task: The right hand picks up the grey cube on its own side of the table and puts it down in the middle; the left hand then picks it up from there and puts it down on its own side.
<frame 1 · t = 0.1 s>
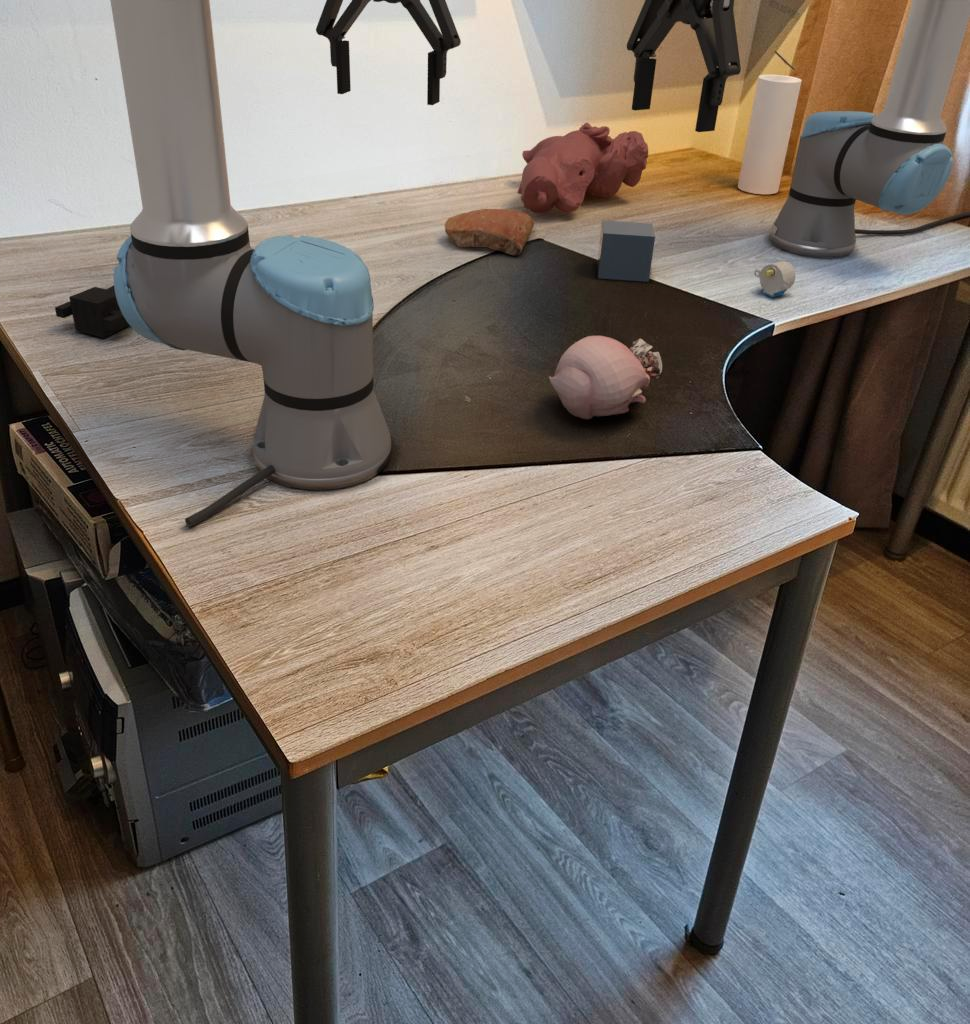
left hand: (388, 98, 135), 28 cm above the table, tool pointing down, fingers open, 13 cm apart
right hand: (671, 120, 131), 28 cm above the table, tool pointing down, fingers open, 13 cm apart
toy 2: (598, 409, 120), on the table
ceramic shard: (487, 240, 171), on the table
reddish clay animal figure: (573, 204, 192), on the table
electric motor: (770, 295, 155), on the table
tall white tube: (754, 189, 207), on the table
grey cube: (622, 273, 161), on the table
toy: (159, 301, 142), on the table
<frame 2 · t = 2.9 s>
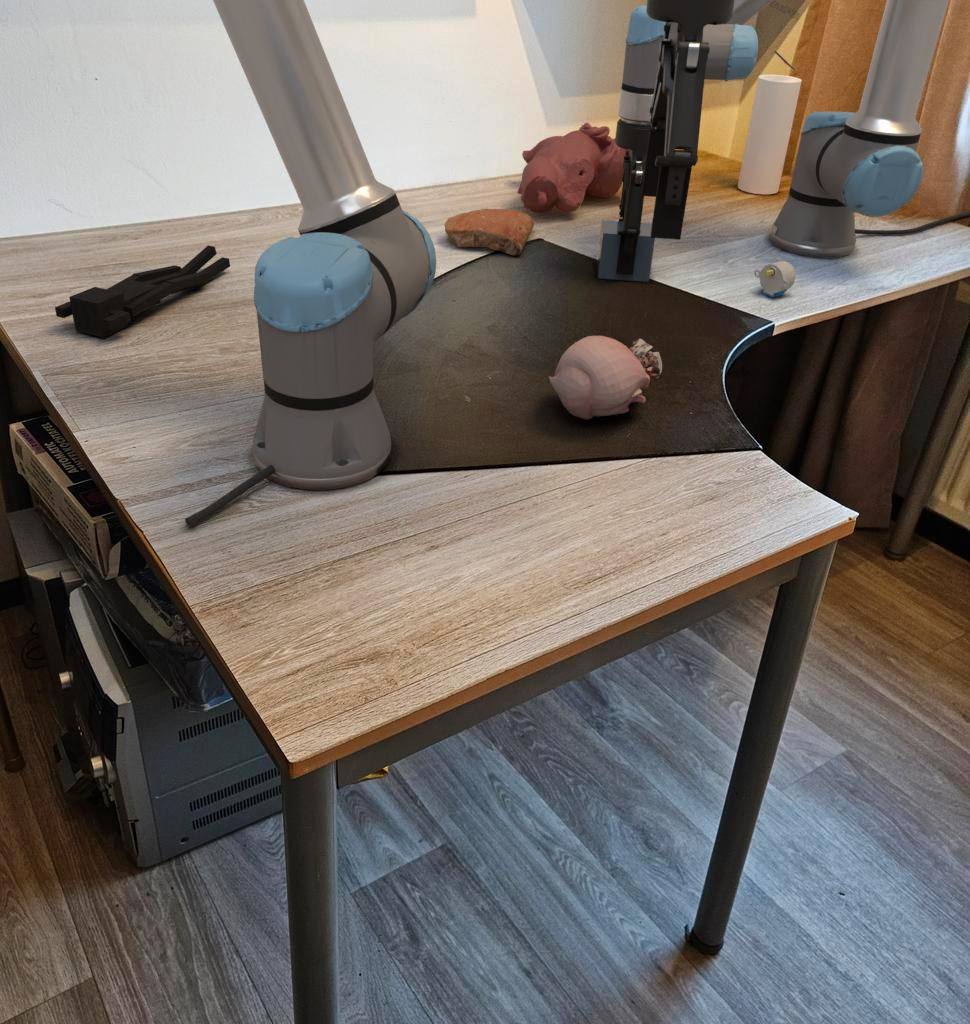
left hand: (659, 215, 95), 28 cm above the table, tool pointing down, fingers open, 13 cm apart
right hand: (623, 265, 160), 1 cm above the table, tool pointing down, fingers closed on grey cube, 7 cm apart
grey cube: (622, 273, 161), on the table, touching right hand
everything else where it was.
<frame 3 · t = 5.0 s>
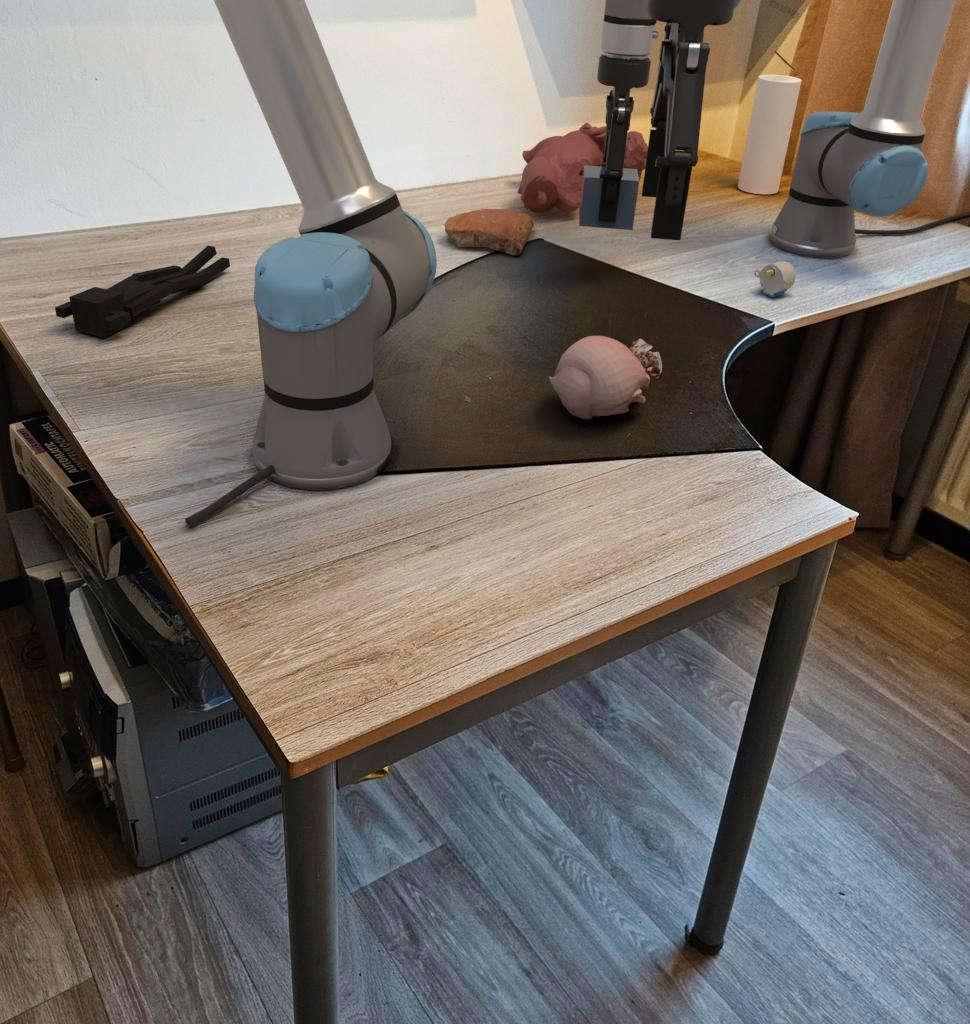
left hand: (659, 216, 95), 28 cm above the table, tool pointing down, fingers open, 13 cm apart
right hand: (606, 213, 152), 11 cm above the table, tool pointing down, fingers closed on grey cube, 7 cm apart
grey cube: (605, 221, 153), point 9 cm above the table, touching right hand
everything else where it was.
when the right hand's fingers open (3 cm above the table, at t = 7.6 s): grey cube drops 2 cm, on the table.
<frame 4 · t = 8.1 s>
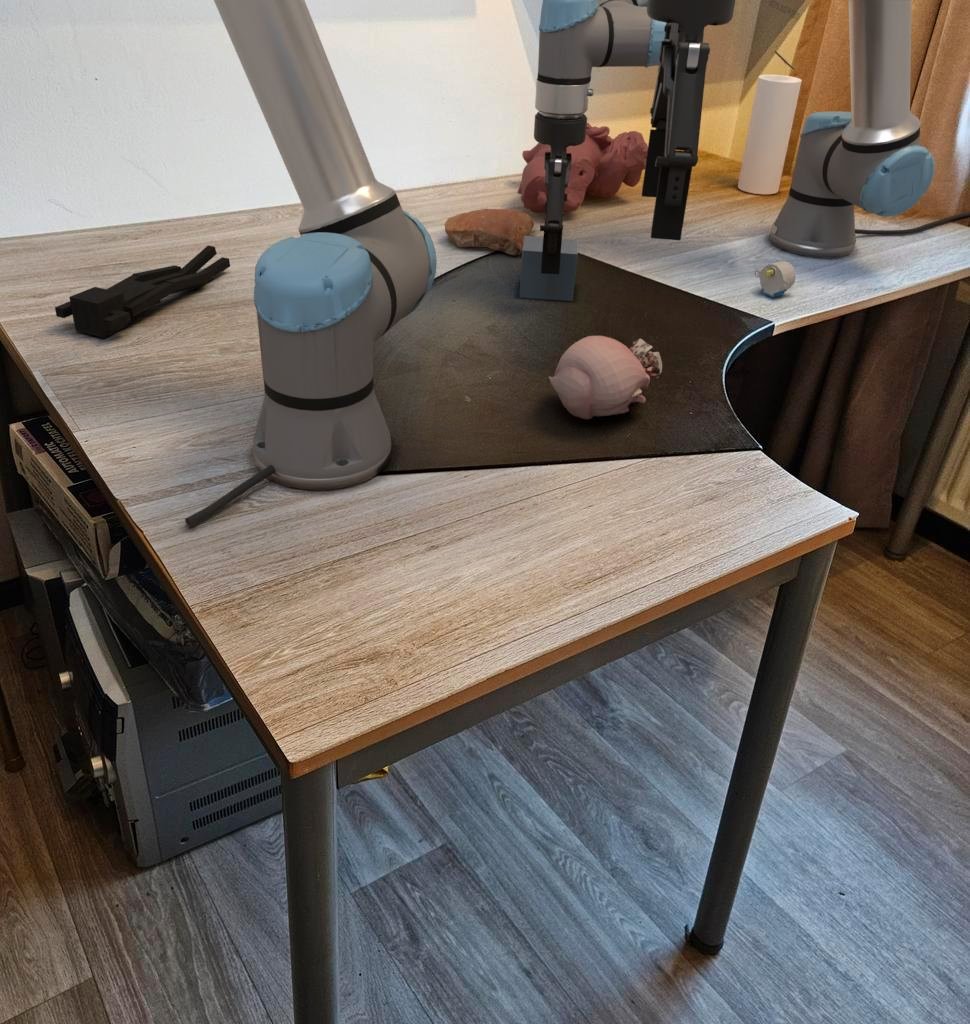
left hand: (659, 216, 95), 28 cm above the table, tool pointing down, fingers open, 13 cm apart
right hand: (550, 257, 149), 5 cm above the table, tool pointing down, fingers open, 13 cm apart
grey cube: (546, 291, 152), on the table
everything else where it was.
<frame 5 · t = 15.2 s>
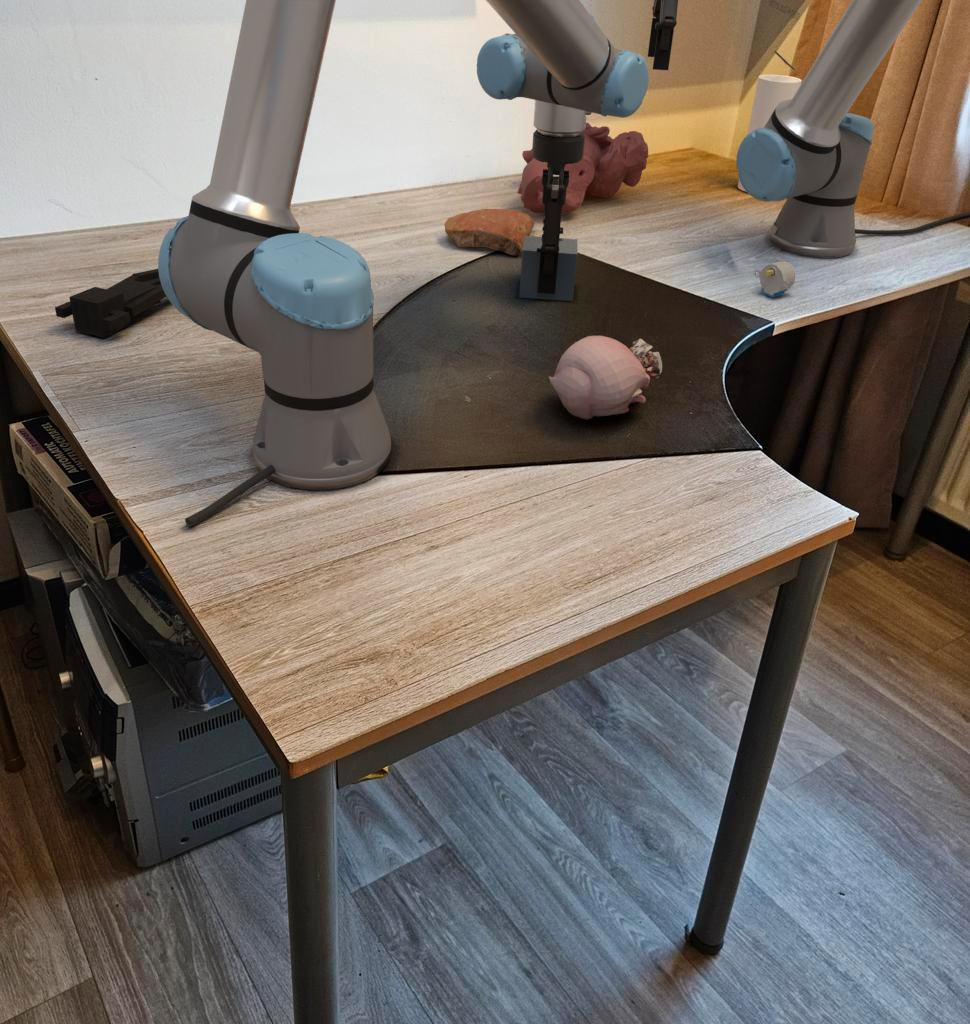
left hand: (546, 283, 152), 1 cm above the table, tool pointing down, fingers closed on grey cube, 7 cm apart
right hand: (657, 63, 176), 27 cm above the table, tool pointing down, fingers open, 13 cm apart
grey cube: (546, 291, 152), on the table, touching left hand
everything else where it was.
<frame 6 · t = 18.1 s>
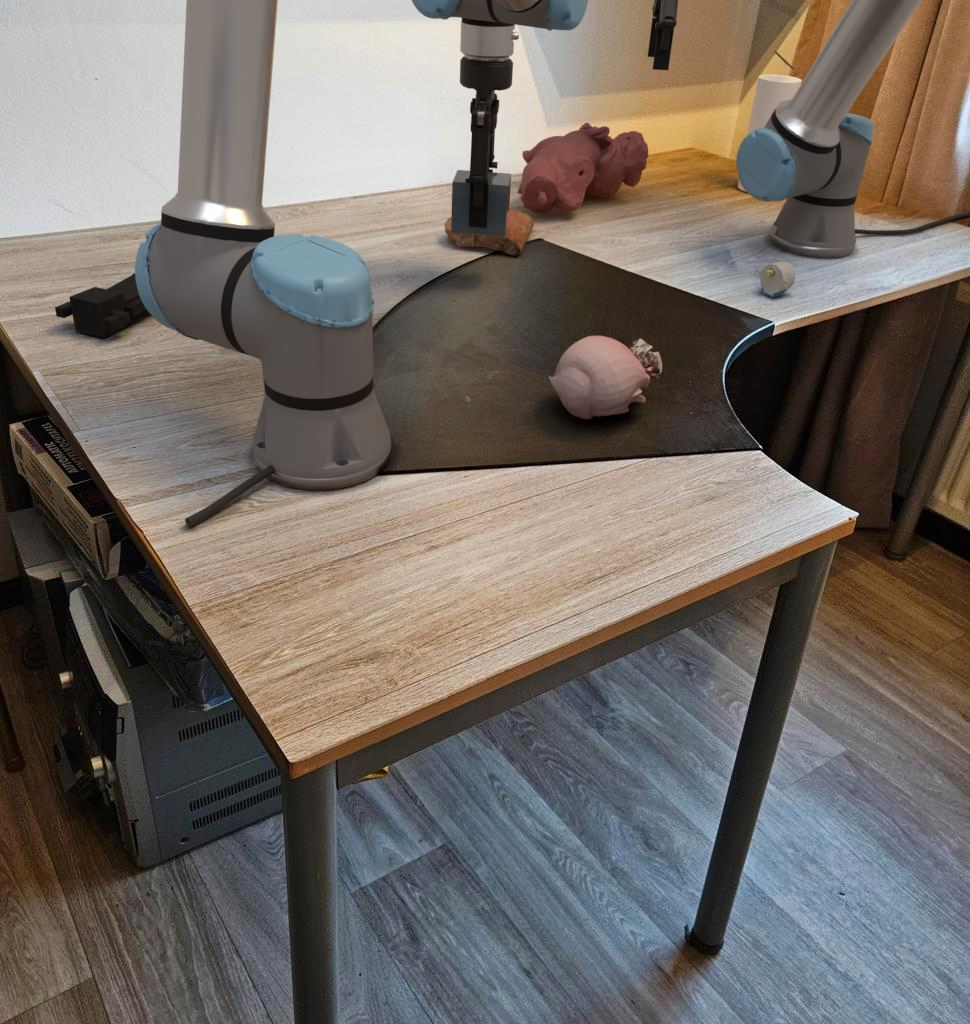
left hand: (479, 218, 149), 10 cm above the table, tool pointing down, fingers closed on grey cube, 7 cm apart
right hand: (657, 63, 176), 27 cm above the table, tool pointing down, fingers open, 13 cm apart
grey cube: (480, 227, 149), point 9 cm above the table, touching left hand
everything else where it was.
when the left hand's fingers open (3 cm above the table, at t = 21.2 s): grey cube drops 2 cm, on the table.
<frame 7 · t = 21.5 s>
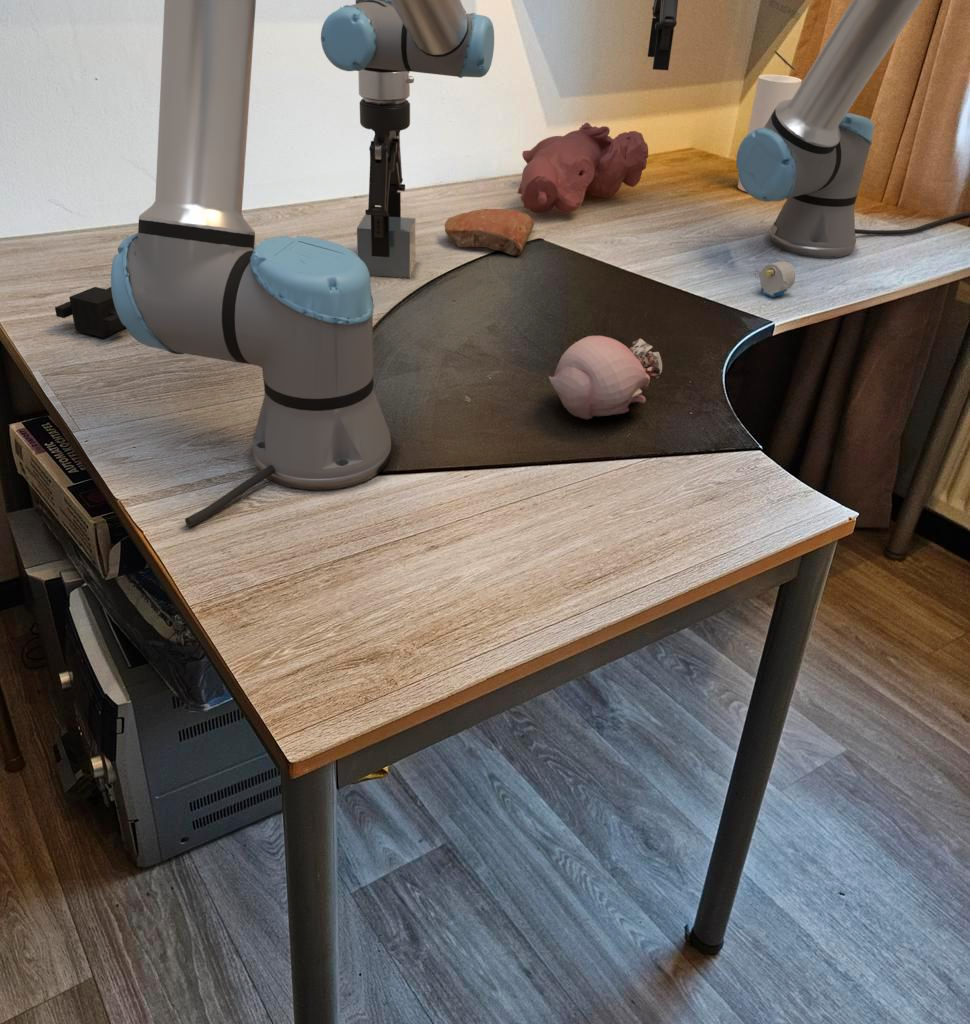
left hand: (386, 243, 155), 4 cm above the table, tool pointing down, fingers open, 11 cm apart
right hand: (657, 63, 176), 27 cm above the table, tool pointing down, fingers open, 13 cm apart
grey cube: (387, 269, 157), on the table
everything else where it was.
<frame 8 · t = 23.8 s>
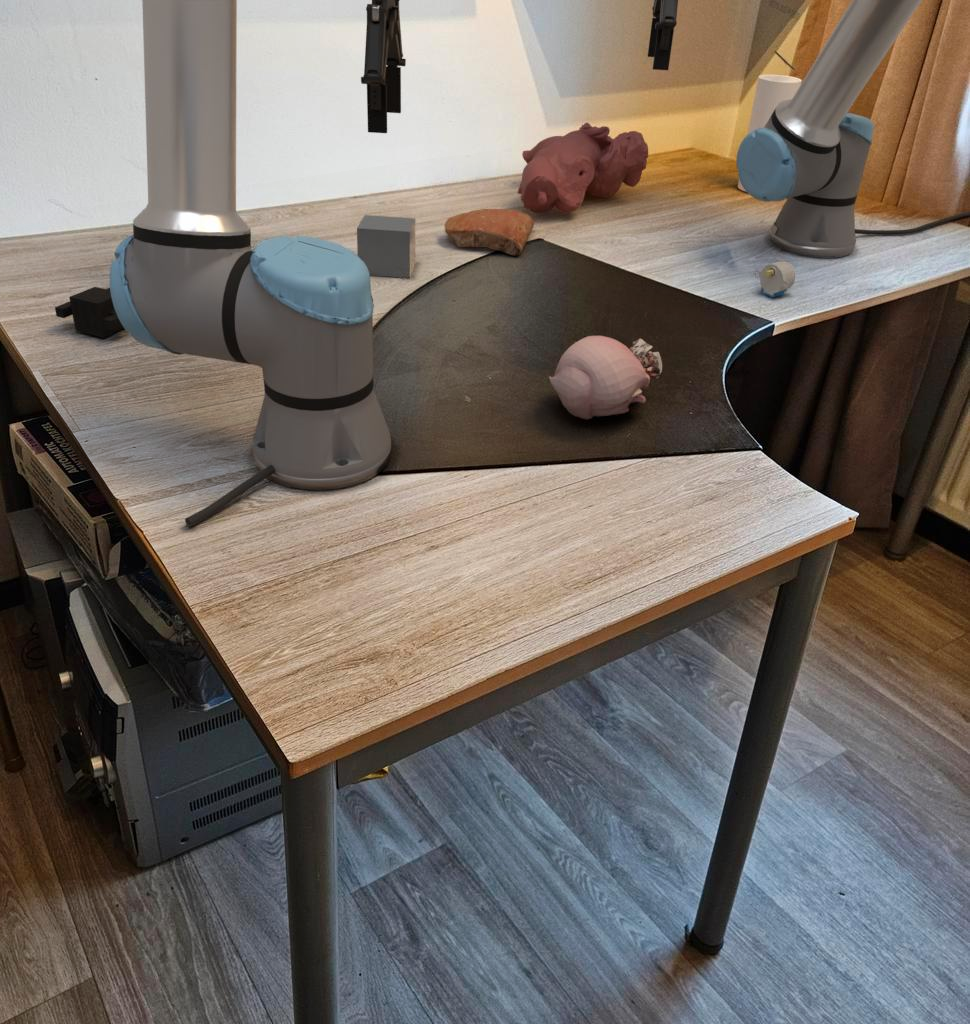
left hand: (385, 122, 145), 23 cm above the table, tool pointing down, fingers open, 13 cm apart
right hand: (657, 63, 176), 27 cm above the table, tool pointing down, fingers open, 13 cm apart
nothing on the table moved.
at the end: grey cube inside the target area (0.1 cm from its centre), on the table; grey cube tilted 0°; the two hands never held the grey cube at the same time; the left hand is holding nothing; the right hand is holding nothing; grey cube at rest at the end (0.0 cm/s) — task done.
